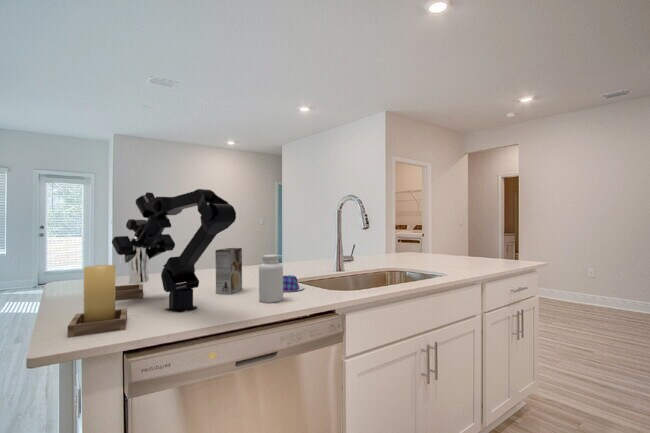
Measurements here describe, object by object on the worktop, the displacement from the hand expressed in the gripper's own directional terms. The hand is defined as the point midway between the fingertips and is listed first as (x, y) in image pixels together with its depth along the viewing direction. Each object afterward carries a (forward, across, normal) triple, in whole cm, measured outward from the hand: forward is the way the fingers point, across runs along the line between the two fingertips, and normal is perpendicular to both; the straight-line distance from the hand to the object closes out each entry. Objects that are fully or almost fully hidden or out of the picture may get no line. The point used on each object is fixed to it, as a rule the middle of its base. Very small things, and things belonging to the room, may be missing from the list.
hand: (136, 260), depth 117 cm
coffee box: (-3, -25, +22) cm, 34 cm away
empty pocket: (+15, 0, +3) cm, 15 cm away
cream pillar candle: (-7, +21, +26) cm, 34 cm away
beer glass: (+4, 0, +6) cm, 8 cm away
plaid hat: (-13, -41, +34) cm, 55 cm away
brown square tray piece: (-7, +21, +26) cm, 34 cm away
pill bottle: (-18, -24, +38) cm, 48 cm away
